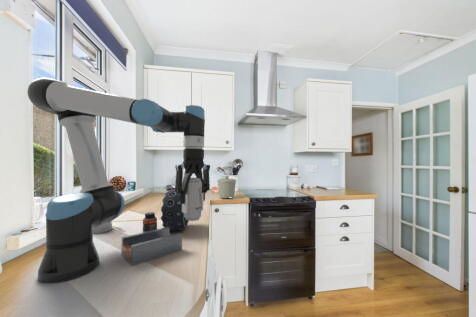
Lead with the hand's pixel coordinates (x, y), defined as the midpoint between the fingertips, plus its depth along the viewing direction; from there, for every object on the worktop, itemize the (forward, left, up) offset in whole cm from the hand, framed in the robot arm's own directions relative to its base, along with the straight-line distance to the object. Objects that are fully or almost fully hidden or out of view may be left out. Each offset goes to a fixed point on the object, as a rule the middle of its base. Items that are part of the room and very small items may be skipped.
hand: (192, 211), depth 78 cm
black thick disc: (+10, +31, -16) cm, 36 cm away
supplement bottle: (-5, +28, -16) cm, 32 cm away
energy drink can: (0, 0, -3) cm, 3 cm away
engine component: (-18, +58, -16) cm, 62 cm away
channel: (-10, +13, -16) cm, 23 cm away
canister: (+88, +83, -16) cm, 122 cm away
